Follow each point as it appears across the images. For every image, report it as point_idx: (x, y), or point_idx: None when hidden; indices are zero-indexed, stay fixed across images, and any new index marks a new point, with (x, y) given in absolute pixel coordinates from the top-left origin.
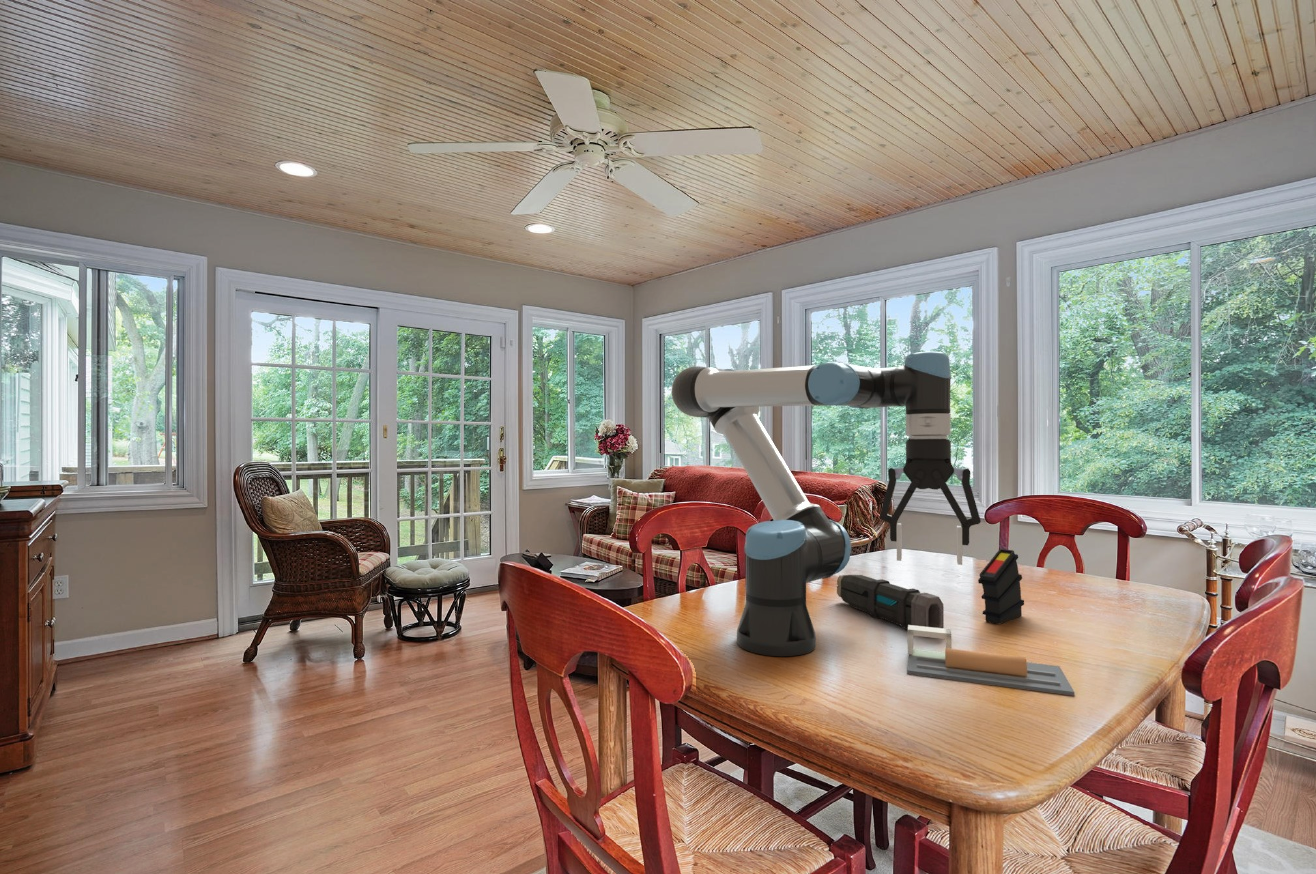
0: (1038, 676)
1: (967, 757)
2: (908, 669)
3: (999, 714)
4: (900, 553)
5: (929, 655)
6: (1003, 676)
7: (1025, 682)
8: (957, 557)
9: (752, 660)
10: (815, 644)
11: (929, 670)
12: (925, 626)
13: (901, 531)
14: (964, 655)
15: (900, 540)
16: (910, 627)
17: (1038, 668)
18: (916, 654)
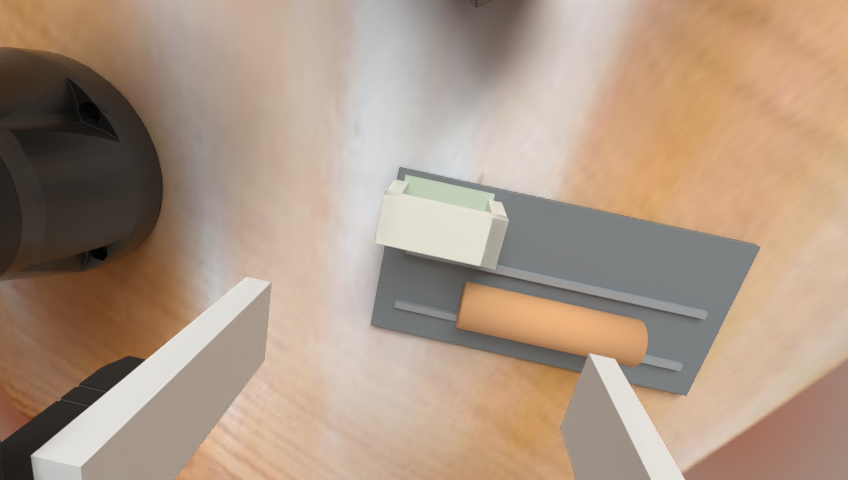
0: (658, 324)
1: None
2: (374, 320)
3: (496, 471)
4: (240, 386)
5: None
6: None
7: None
8: (574, 444)
9: (51, 288)
10: (156, 186)
11: (419, 320)
12: (477, 3)
13: (151, 411)
14: (499, 336)
15: (189, 454)
16: (385, 221)
17: (690, 272)
18: None
